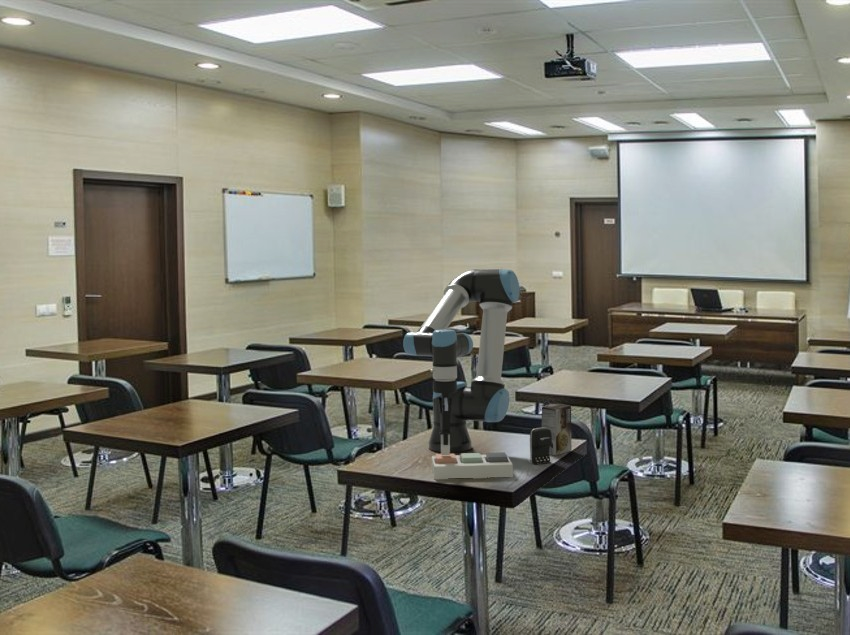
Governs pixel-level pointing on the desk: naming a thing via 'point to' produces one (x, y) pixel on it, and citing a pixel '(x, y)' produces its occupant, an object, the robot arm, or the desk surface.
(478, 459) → the key sage
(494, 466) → the keypad
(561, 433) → the coffee box
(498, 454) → the key charcoal
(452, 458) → the key terracotta
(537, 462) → the black rounded block
